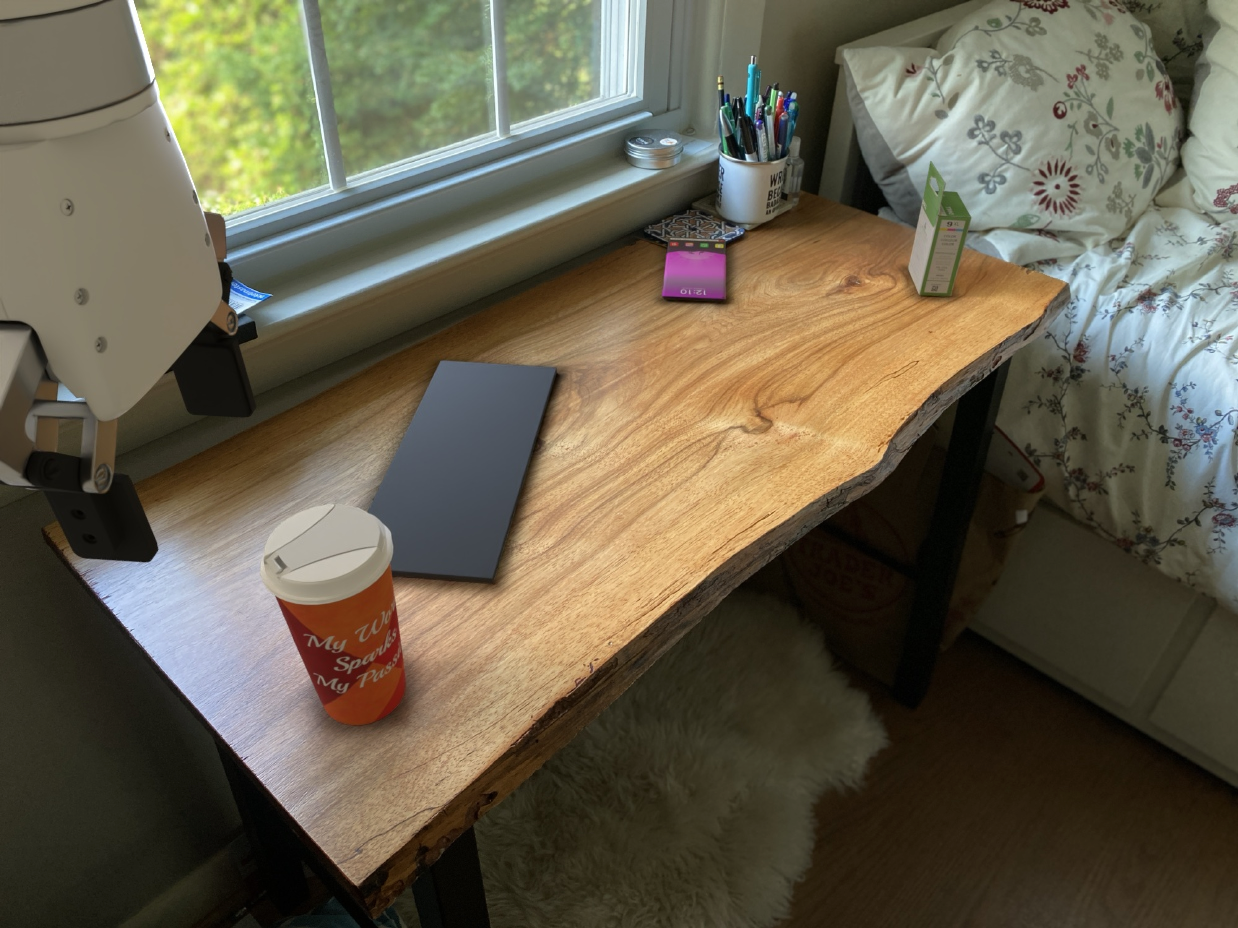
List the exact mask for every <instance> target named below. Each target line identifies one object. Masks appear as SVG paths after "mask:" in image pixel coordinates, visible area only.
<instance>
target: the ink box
mask: <svg viewBox="0 0 1238 928" xmlns="http://www.w3.org/2000/svg"><path fill="white" fill-rule="evenodd" d="M928 165H929V166H928V171H927V175H926V176H927V177H926V181H925V187H924V192H923V195H922V201H921V205H920V211H919V216H918V220H917V225H916V230H915V236H914V241H913V245H912V250H911V254H910V258H909V263H908V266H907V270H908V272H909V274H910V277H911V279H912V282H913V284H914V287H915V289H916V292H917V294H918V295H919V296H932V297H941V298H942V297H946V298H947V297H952V295H953V291H954V287H955V283H956V279H957V276H958V273H959V272H958V271H959V268H960V264H961V260H962V257H963V253H964V249H965V245H966V241H967V237H968V233H969V229H970V225H971V221H972V216H971V214H970V212H969V211H968V208H967V207H966V205H965V204H964V201H963V200H962V198H961V196H960V194H959V192H958V191H949V190H946V189H945V188H946V185H947V183H946V181H945V180H944V179H943V177H942V175H941V174H940V172H939V171H938V170H937V168H936V166H935V164H934V163H933V162H932V160H930V161H929V164H928ZM932 179H935V181H936V184H937V187H938V190H935V189H934V186H933V185H932Z"/></svg>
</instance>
